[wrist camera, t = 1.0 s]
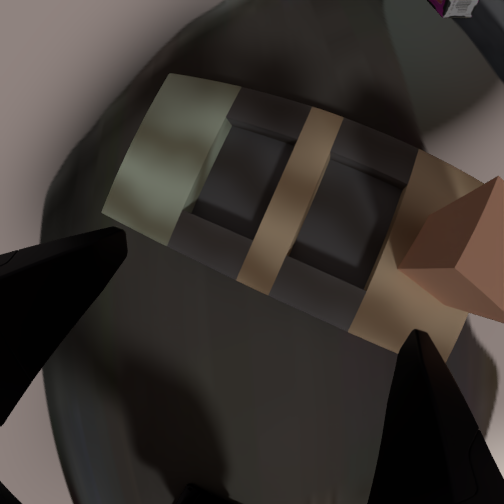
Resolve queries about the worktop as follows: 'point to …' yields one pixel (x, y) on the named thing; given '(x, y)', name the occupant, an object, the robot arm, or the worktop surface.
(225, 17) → the worktop surface
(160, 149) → the board
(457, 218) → the brown rectangular block
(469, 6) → the candy bar box
